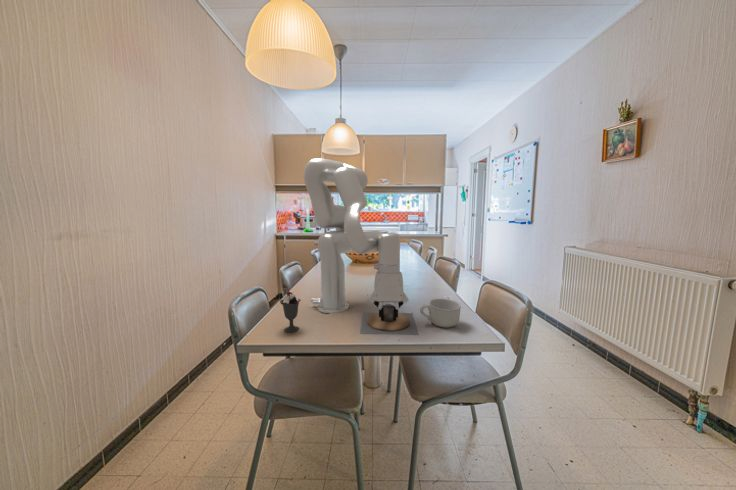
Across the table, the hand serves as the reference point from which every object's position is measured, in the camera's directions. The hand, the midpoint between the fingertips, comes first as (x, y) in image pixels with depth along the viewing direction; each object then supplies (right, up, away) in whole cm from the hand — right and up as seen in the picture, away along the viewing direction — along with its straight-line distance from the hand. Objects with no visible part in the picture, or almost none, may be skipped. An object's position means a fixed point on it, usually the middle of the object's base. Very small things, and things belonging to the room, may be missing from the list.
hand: (388, 318), depth 102 cm
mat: (0, -2, 0) cm, 2 cm away
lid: (0, -1, 0) cm, 1 cm away
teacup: (+18, -2, 0) cm, 18 cm away
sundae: (-33, -3, -4) cm, 34 cm away
